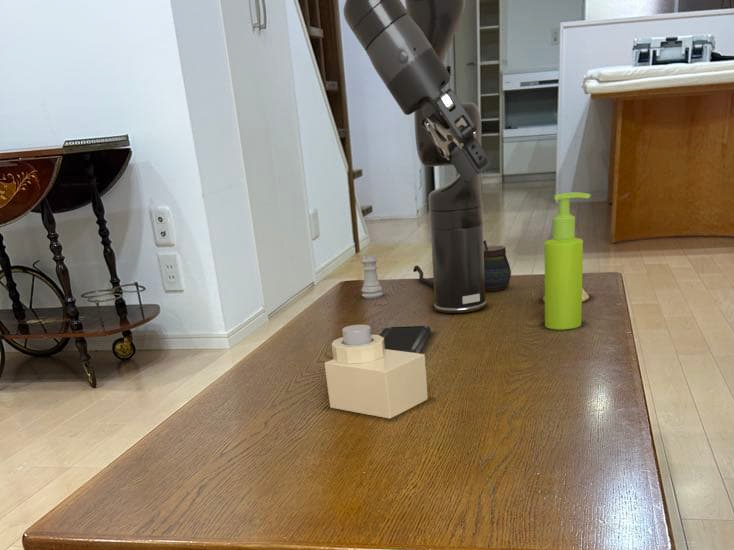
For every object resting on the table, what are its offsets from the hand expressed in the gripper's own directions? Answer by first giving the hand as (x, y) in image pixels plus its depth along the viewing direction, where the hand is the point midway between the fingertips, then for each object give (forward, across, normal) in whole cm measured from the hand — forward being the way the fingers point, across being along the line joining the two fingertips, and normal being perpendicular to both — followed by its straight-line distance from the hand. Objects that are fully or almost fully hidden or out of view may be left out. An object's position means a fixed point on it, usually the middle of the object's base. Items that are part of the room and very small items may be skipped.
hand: (478, 174), depth 113 cm
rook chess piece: (+7, +53, +18) cm, 56 cm away
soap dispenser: (+28, +14, -2) cm, 31 cm away
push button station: (+14, -13, +30) cm, 36 cm away
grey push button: (+7, -13, +27) cm, 31 cm away
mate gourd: (+20, +47, -2) cm, 51 cm away
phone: (+14, +13, +22) cm, 29 cm away
